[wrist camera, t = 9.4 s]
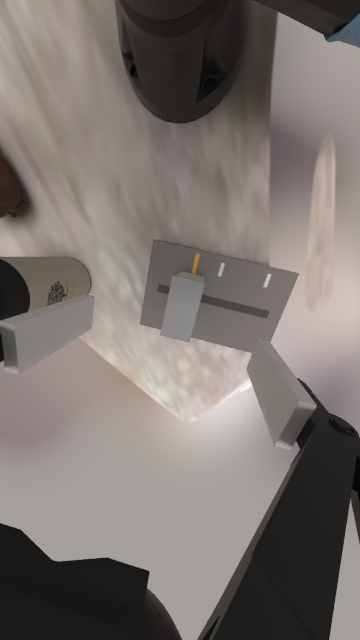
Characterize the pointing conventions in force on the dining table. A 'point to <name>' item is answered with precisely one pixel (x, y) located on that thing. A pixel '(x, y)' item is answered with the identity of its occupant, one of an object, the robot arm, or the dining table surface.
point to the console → (220, 295)
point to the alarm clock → (8, 190)
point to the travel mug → (39, 283)
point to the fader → (182, 305)
